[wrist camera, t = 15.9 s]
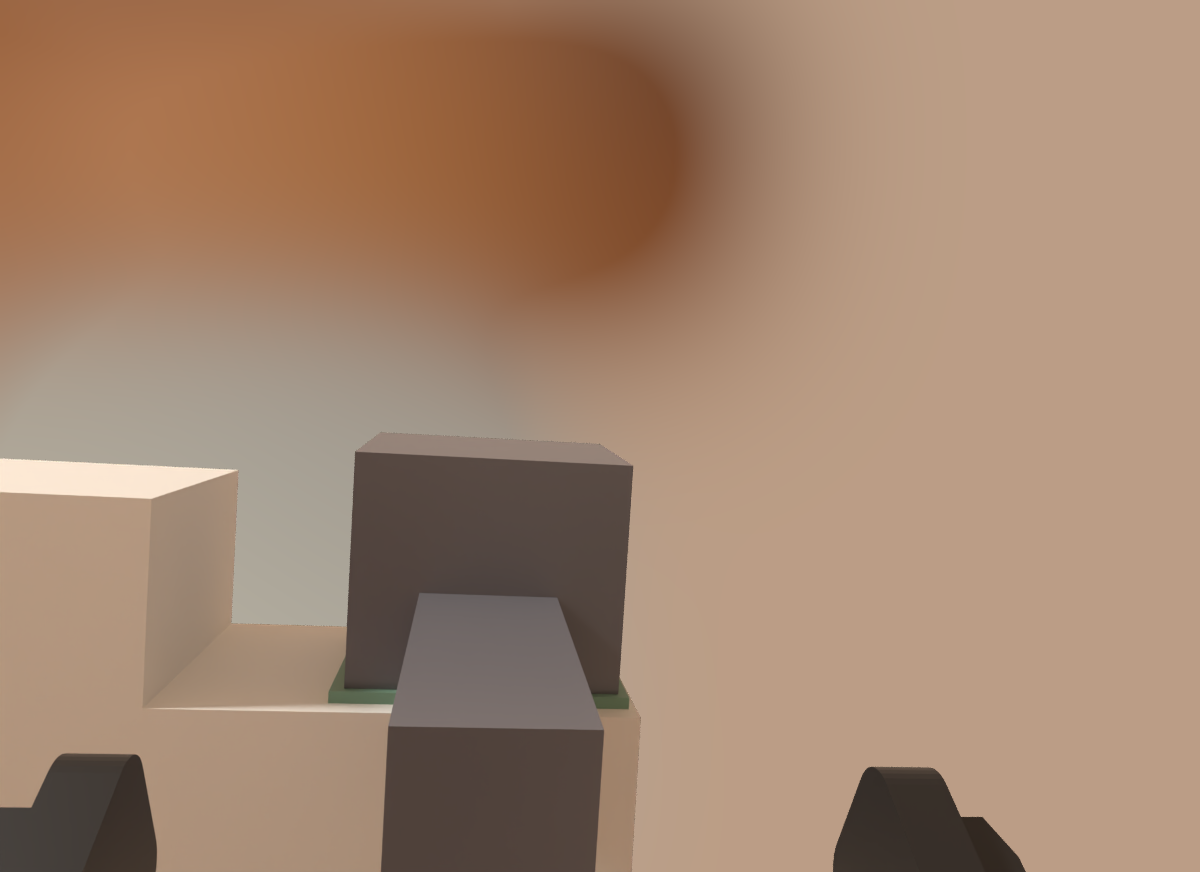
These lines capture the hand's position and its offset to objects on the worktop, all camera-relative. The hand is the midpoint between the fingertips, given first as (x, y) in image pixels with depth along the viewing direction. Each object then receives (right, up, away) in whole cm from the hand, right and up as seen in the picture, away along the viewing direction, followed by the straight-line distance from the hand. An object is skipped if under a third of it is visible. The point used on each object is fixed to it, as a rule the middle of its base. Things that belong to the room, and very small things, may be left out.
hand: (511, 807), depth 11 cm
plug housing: (-2, -2, +13) cm, 14 cm away
